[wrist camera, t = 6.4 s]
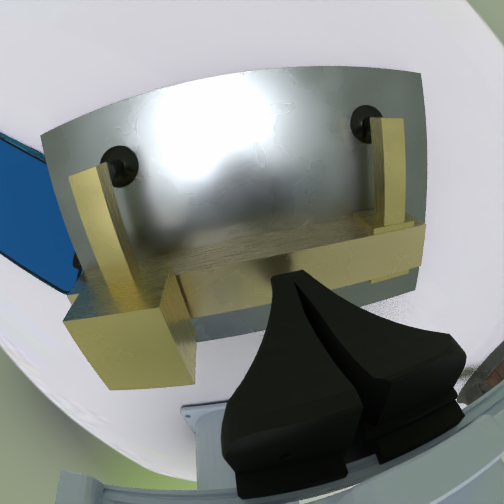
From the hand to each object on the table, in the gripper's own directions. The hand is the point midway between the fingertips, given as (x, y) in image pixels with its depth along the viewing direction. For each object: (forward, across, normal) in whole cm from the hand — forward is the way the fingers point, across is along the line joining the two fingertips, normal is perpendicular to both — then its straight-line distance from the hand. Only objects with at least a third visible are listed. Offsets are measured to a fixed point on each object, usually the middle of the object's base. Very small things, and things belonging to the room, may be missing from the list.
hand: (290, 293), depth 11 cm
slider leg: (+3, +6, -2) cm, 8 cm away
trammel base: (+4, 0, -2) cm, 5 cm away
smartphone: (+5, +15, -7) cm, 18 cm away
